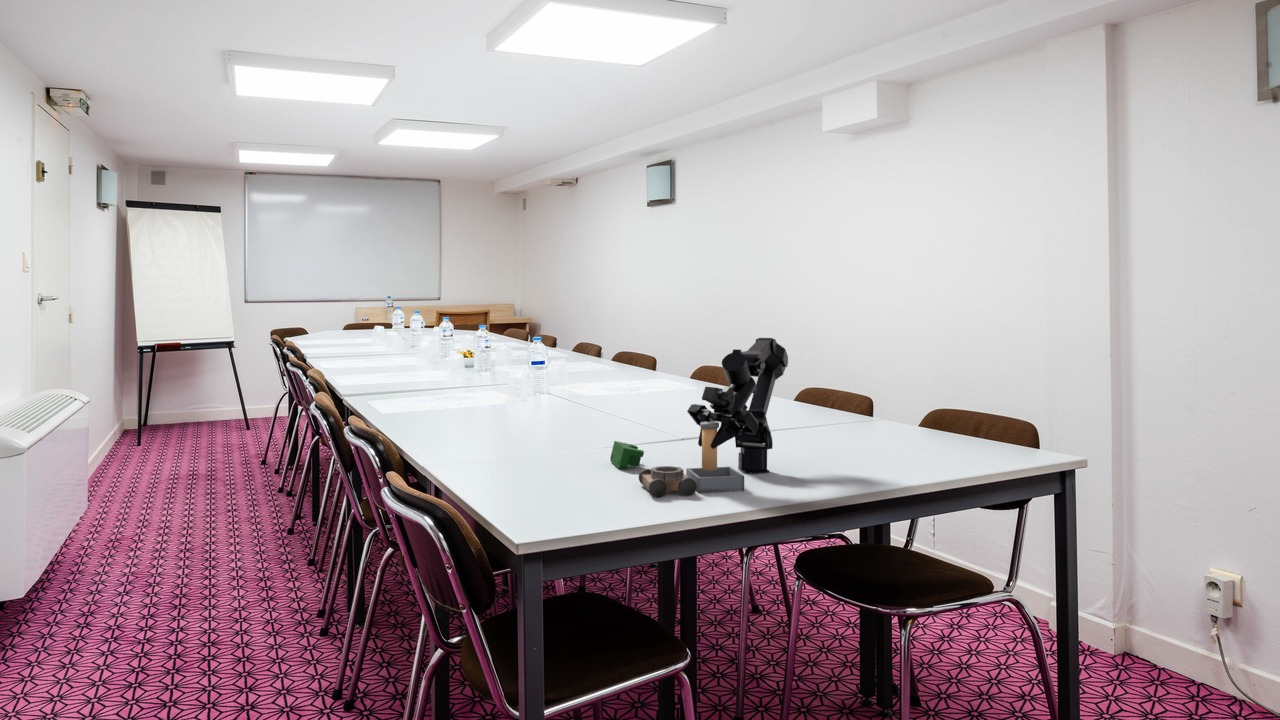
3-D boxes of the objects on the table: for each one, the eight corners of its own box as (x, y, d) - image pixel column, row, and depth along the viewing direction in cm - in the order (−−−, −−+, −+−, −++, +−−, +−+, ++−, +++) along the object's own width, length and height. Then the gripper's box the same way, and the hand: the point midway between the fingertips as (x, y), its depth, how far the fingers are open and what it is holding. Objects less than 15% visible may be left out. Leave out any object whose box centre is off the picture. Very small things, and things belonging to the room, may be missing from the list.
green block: (635, 484, 218) (646, 456, 215) (614, 480, 217) (624, 451, 213) (629, 459, 229) (640, 431, 225) (609, 454, 227) (619, 427, 224)
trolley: (683, 483, 199) (683, 463, 199) (696, 495, 187) (696, 473, 187) (638, 485, 197) (638, 464, 197) (649, 497, 185) (649, 475, 184)
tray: (729, 480, 202) (729, 466, 202) (744, 490, 192) (744, 476, 191) (686, 482, 200) (686, 468, 200) (698, 493, 189) (698, 478, 189)
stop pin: (715, 466, 197) (715, 421, 197) (721, 470, 193) (721, 424, 192) (697, 467, 197) (698, 421, 196) (703, 471, 192) (703, 424, 191)
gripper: (692, 371, 203) (660, 420, 196) (751, 377, 189) (718, 430, 182) (714, 400, 208) (683, 449, 202) (772, 407, 195) (741, 460, 188)
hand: (705, 446), depth 193 cm, fingers closed on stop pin, 4 cm apart
